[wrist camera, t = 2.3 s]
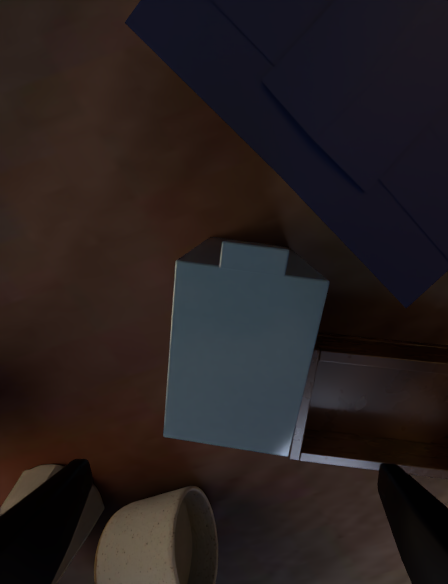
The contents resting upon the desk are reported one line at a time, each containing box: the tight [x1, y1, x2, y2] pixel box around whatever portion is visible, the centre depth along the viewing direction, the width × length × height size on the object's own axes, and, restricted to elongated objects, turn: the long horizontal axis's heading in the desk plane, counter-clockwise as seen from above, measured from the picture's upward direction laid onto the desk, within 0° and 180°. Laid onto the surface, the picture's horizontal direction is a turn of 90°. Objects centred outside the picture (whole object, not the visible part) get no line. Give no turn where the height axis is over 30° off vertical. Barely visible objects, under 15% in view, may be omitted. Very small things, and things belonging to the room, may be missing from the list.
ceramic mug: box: [94, 486, 218, 584], centre depth 24 cm, size 11×8×8 cm
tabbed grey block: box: [163, 237, 330, 457], centre depth 16 cm, size 6×11×10 cm, turn 173°
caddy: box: [288, 333, 448, 479], centre depth 21 cm, size 15×9×3 cm, turn 86°
